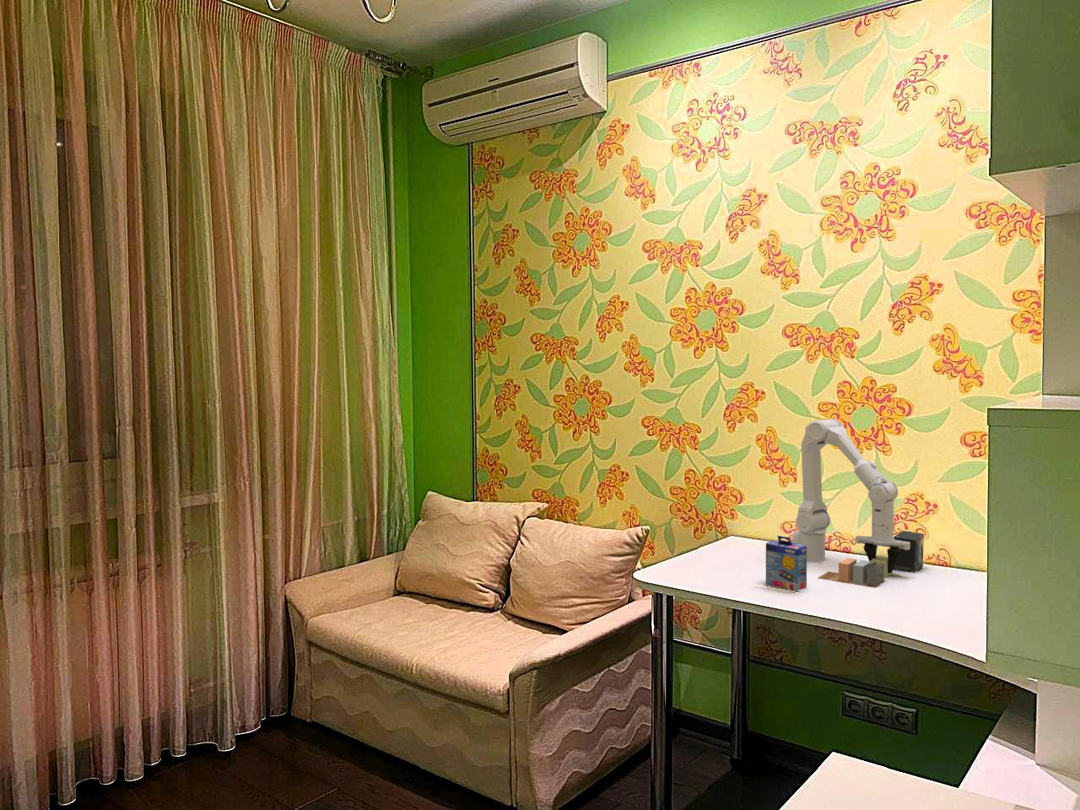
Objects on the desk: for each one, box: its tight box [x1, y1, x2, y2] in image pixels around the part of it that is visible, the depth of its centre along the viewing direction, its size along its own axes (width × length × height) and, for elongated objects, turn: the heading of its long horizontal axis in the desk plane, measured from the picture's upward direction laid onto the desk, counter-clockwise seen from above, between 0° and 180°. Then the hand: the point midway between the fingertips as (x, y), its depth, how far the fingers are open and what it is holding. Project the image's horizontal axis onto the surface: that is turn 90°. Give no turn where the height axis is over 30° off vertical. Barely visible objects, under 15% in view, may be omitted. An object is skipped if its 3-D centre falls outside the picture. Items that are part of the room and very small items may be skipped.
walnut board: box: [817, 571, 886, 589], centre depth 232 cm, size 16×9×1 cm, turn 51°
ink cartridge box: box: [765, 535, 808, 593], centre depth 226 cm, size 10×6×14 cm, turn 45°
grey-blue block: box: [853, 559, 871, 585], centre depth 230 cm, size 3×7×5 cm, turn 141°
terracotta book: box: [838, 557, 858, 582], centre depth 232 cm, size 3×7×5 cm, turn 141°
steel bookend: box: [867, 562, 885, 588], centre depth 228 cm, size 2×7×5 cm, turn 141°
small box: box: [893, 530, 925, 574], centre depth 244 cm, size 11×6×10 cm, turn 143°
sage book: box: [871, 555, 894, 579], centre depth 237 cm, size 4×7×5 cm, turn 141°
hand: (881, 571), depth 237 cm, fingers closed on sage book, 4 cm apart
